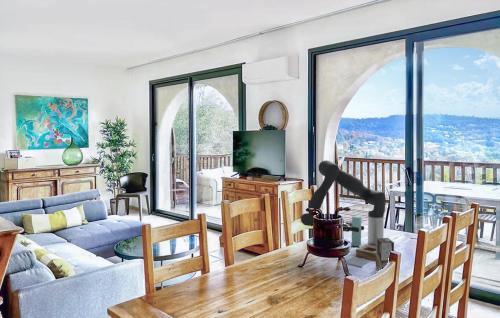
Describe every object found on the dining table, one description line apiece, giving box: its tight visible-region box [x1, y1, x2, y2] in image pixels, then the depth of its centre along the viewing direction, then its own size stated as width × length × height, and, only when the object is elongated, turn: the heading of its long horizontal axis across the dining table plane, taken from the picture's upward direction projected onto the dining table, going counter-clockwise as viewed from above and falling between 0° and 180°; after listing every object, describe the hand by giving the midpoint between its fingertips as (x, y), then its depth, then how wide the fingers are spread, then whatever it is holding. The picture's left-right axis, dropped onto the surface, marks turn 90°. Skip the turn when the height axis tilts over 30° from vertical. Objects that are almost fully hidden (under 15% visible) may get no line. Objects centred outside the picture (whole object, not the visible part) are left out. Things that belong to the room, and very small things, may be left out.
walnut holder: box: [350, 244, 376, 263], centre depth 223 cm, size 16×16×4 cm
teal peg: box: [351, 215, 362, 247], centre depth 211 cm, size 5×5×15 cm
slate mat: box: [346, 256, 372, 268], centre depth 212 cm, size 11×11×1 cm
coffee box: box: [375, 237, 395, 272], centre depth 198 cm, size 9×6×16 cm
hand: (361, 229), depth 209 cm, fingers closed on teal peg, 4 cm apart
